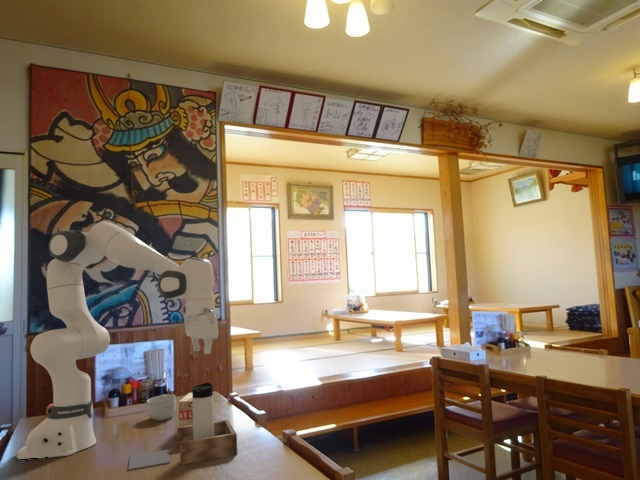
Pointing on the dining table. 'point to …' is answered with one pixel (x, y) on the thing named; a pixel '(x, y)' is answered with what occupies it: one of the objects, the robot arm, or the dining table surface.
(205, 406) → the travel mug
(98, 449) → the dining table surface
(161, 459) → the grey square plate
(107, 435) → the dining table surface
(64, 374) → the robot arm
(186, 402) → the stack of blocks
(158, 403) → the teacup
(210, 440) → the walnut box
